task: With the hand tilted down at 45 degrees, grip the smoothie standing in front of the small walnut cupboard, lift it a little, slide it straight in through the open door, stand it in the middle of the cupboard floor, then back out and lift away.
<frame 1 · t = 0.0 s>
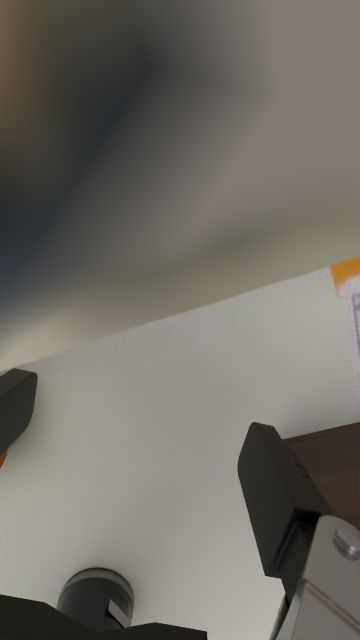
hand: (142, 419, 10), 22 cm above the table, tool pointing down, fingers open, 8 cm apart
cupboard: (356, 460, 35), on the table
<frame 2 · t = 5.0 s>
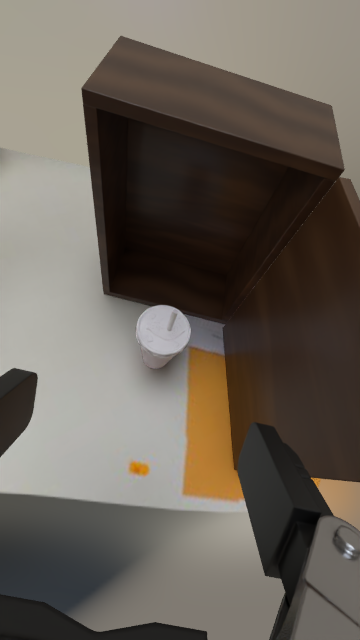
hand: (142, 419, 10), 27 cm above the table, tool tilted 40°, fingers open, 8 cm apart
cupboard: (171, 284, 46), on the table
cupboard door: (300, 363, 28), point 14 cm above the table, hinge at 100.0°
smoothie: (155, 356, 40), on the table
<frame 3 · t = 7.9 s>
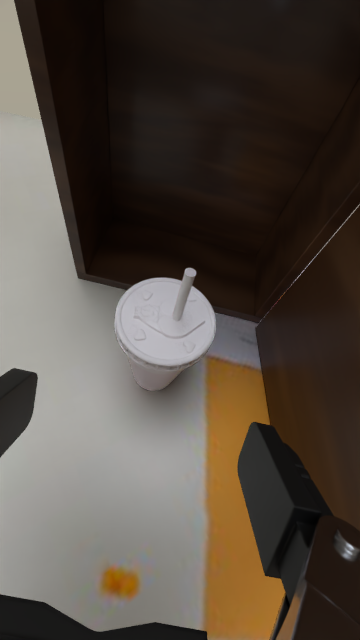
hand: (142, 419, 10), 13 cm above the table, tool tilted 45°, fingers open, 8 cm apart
cupboard: (178, 267, 32), on the table
smoothie: (153, 371, 25), on the table
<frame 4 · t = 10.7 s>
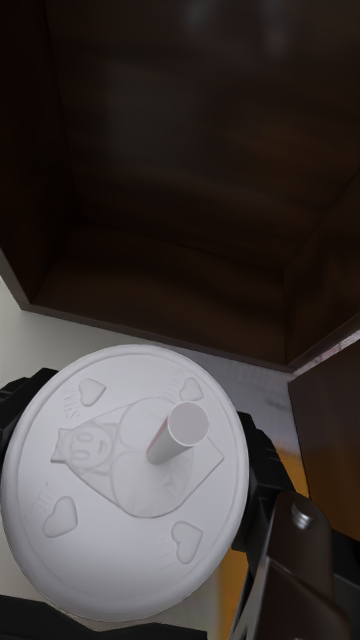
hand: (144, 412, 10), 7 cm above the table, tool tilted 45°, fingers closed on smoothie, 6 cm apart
cupboard: (173, 289, 22), on the table
smoothie: (129, 468, 15), on the table, touching gripper
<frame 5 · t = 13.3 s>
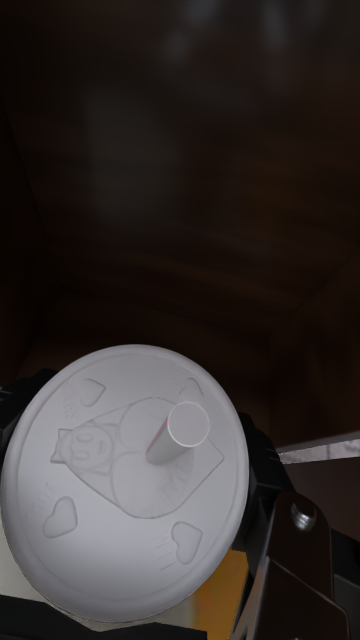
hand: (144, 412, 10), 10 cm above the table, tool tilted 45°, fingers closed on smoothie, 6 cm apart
cupboard: (156, 360, 22), on the table
smoothie: (129, 468, 15), point 3 cm above the table, touching gripper
when the fingers open (8 cm above the table, at t = 16.1 s): smoothie stays where it is, resting on cupboard.
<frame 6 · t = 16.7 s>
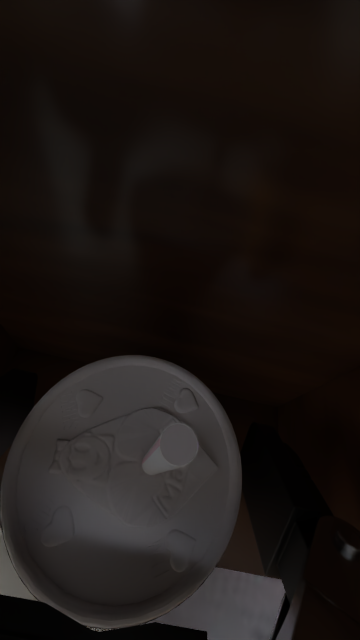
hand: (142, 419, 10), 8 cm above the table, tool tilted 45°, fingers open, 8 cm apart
cupboard: (135, 443, 17), on the table
smoothie: (127, 473, 16), point 1 cm above the table, touching cupboard
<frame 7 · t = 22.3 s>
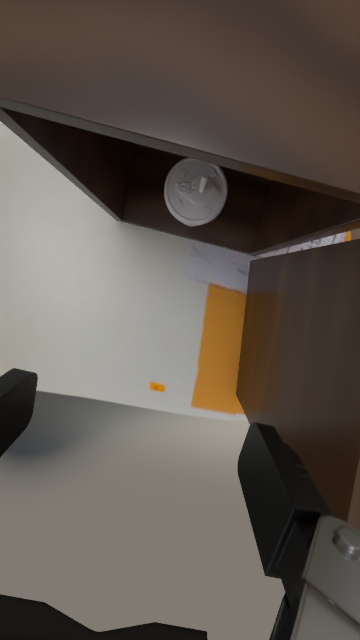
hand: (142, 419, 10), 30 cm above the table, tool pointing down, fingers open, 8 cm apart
cupboard: (195, 201, 37), on the table
cupboard door: (305, 359, 27), point 14 cm above the table, hinge at 100.0°
smoothie: (191, 212, 37), point 1 cm above the table, touching cupboard
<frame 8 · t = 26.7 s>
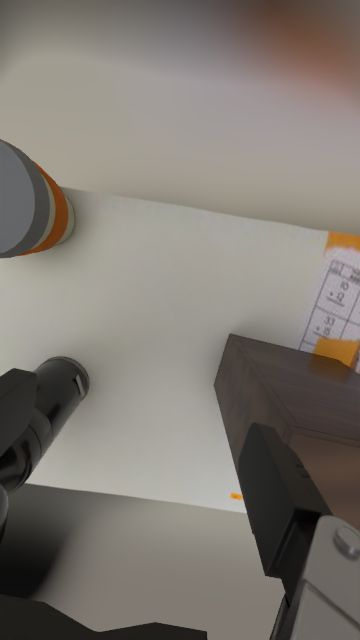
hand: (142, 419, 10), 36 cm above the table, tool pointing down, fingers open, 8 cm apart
cupboard: (275, 372, 48), on the table
reusable coffee cup: (46, 216, 43), on the table
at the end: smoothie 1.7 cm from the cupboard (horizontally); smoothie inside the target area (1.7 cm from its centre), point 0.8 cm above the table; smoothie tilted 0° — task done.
